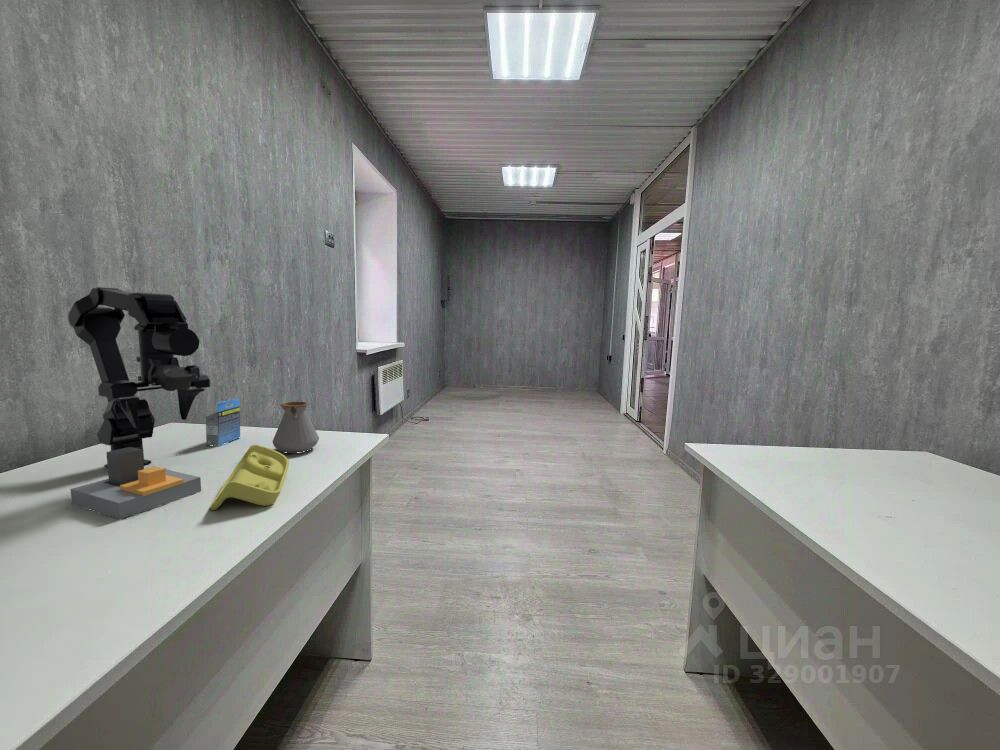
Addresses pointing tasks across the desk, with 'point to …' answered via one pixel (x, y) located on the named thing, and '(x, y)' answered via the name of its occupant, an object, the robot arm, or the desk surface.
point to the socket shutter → (151, 481)
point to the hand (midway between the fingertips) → (161, 423)
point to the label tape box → (223, 423)
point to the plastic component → (255, 477)
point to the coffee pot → (295, 429)
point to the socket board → (131, 496)
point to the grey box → (124, 465)
